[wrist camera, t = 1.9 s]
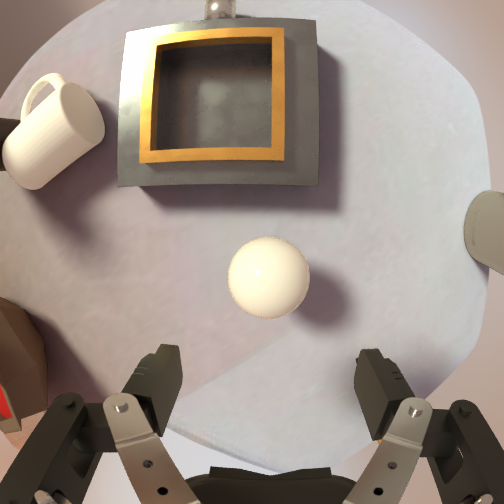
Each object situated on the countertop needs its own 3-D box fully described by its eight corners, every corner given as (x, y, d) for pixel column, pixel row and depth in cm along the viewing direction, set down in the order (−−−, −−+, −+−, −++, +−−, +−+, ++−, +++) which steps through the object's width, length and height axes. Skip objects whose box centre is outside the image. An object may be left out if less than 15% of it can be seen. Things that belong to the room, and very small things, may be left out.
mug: (113, 144, 29) (72, 140, 21) (55, 187, 30) (11, 194, 22) (85, 65, 26) (47, 47, 18) (32, 111, 27) (-9, 105, 20)
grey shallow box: (308, 10, 24) (315, -18, 18) (310, 184, 29) (321, 187, 23) (147, 20, 24) (127, -3, 19) (137, 184, 30) (110, 188, 24)
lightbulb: (300, 221, 30) (318, 249, 19) (297, 281, 31) (311, 334, 21) (237, 220, 30) (221, 247, 19) (237, 280, 32) (223, 332, 21)
